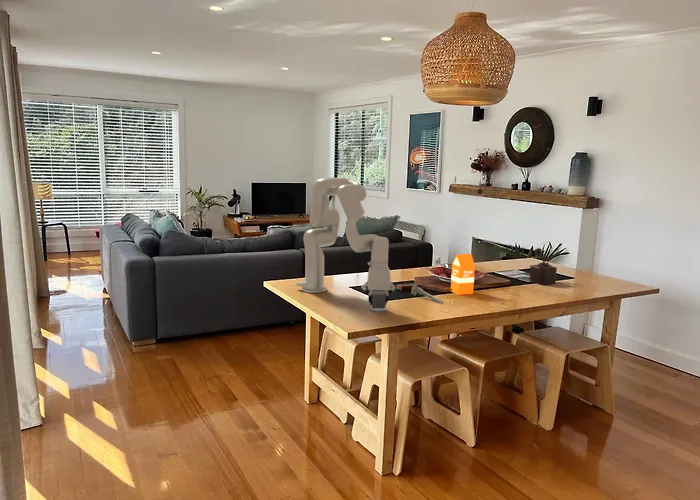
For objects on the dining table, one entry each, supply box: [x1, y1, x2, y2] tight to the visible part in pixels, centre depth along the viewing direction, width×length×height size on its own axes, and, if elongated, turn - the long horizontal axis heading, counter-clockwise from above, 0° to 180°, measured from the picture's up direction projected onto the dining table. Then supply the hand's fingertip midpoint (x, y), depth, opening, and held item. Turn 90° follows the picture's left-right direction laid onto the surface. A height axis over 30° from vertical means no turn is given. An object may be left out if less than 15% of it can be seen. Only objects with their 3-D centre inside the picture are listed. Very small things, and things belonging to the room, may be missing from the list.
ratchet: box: [369, 305, 387, 313], centre depth 250 cm, size 7×21×5 cm, turn 3°
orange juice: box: [450, 253, 476, 296], centre depth 277 cm, size 8×9×20 cm
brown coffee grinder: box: [528, 247, 558, 286], centre depth 305 cm, size 16×11×18 cm
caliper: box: [410, 283, 444, 305], centre depth 264 cm, size 20×1×6 cm, turn 39°
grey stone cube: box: [370, 291, 387, 308], centre depth 243 cm, size 6×6×6 cm
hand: (378, 303), depth 243 cm, fingers closed on grey stone cube, 6 cm apart
